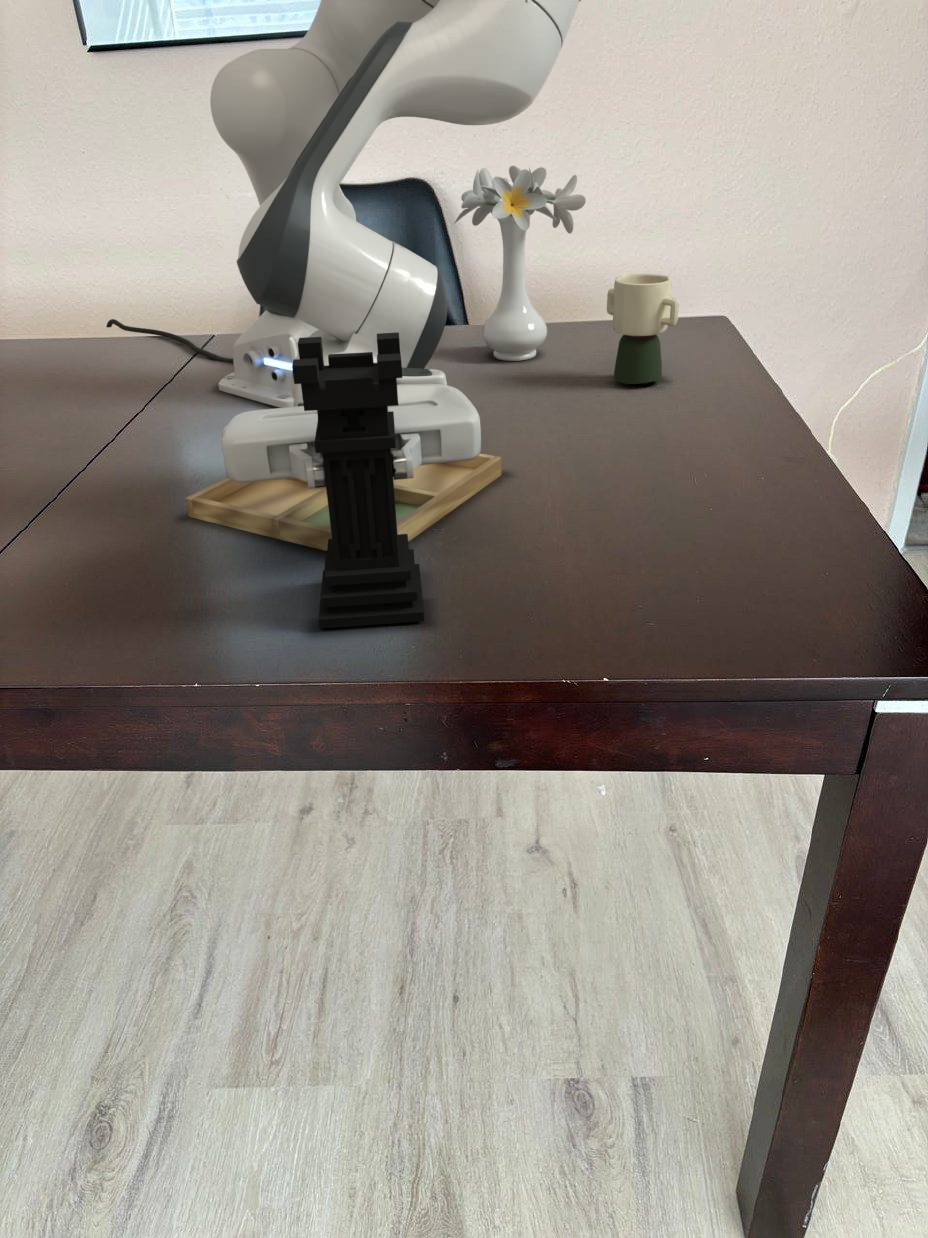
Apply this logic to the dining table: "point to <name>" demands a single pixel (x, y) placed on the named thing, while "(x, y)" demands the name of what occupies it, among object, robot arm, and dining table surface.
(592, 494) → the dining table surface
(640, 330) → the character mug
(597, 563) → the dining table surface
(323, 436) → the chess piece
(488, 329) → the flower vase
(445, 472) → the grid
